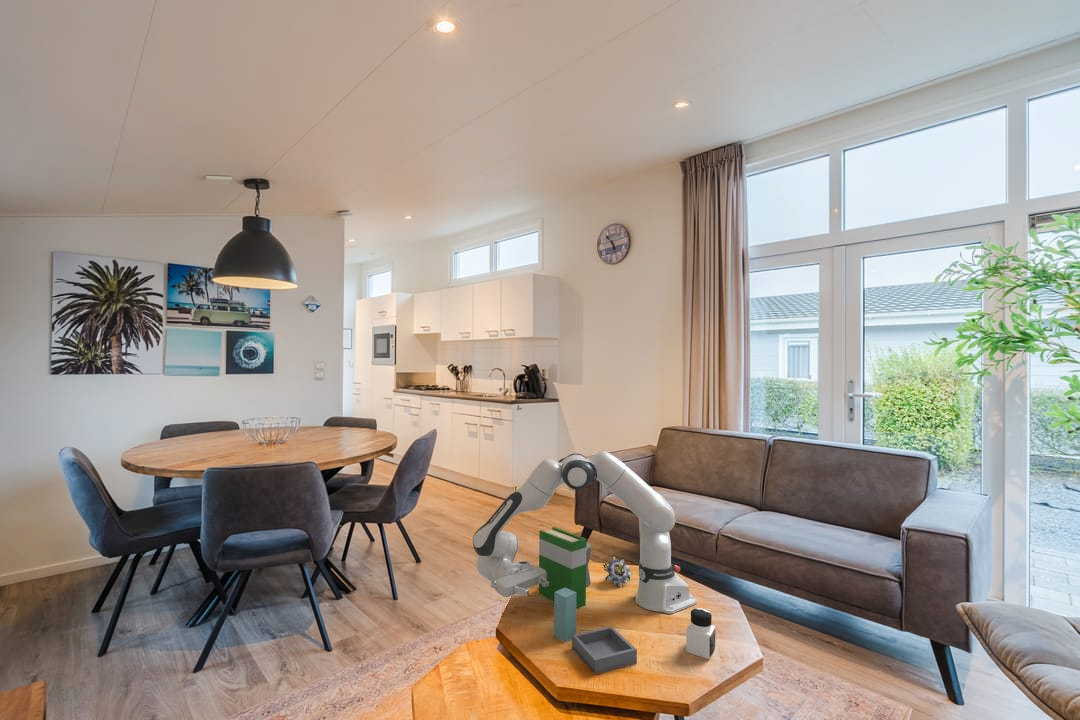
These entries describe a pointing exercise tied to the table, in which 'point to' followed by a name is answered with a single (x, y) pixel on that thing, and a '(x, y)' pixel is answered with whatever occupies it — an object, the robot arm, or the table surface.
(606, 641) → the box
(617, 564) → the passion flower
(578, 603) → the hardback book
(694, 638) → the medicine bottle
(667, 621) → the table surface
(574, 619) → the tall teal prism
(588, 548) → the coffeepot
